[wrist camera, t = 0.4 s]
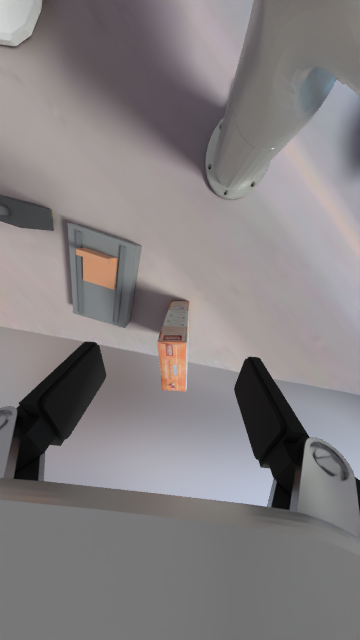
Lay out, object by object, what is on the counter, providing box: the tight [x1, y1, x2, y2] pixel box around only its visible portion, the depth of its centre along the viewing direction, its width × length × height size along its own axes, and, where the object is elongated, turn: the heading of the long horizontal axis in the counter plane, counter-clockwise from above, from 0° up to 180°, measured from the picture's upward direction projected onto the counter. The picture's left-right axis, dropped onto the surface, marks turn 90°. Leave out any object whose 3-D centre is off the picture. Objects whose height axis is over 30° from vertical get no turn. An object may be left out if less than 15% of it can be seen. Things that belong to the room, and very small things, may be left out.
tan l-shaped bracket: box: [76, 247, 118, 290], centre depth 35 cm, size 8×8×4 cm
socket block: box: [68, 223, 142, 328], centre depth 40 cm, size 24×16×5 cm, turn 163°
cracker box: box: [157, 301, 189, 391], centre depth 38 cm, size 14×6×21 cm, turn 0°
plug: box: [0, 195, 54, 231], centre depth 31 cm, size 4×4×11 cm
